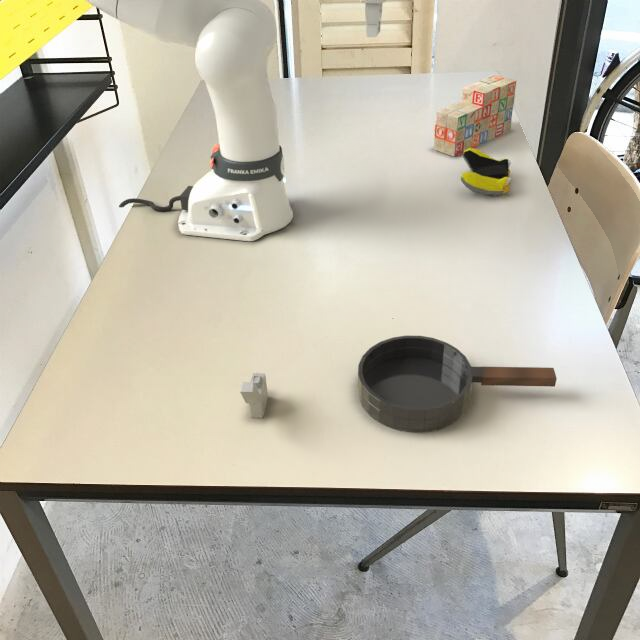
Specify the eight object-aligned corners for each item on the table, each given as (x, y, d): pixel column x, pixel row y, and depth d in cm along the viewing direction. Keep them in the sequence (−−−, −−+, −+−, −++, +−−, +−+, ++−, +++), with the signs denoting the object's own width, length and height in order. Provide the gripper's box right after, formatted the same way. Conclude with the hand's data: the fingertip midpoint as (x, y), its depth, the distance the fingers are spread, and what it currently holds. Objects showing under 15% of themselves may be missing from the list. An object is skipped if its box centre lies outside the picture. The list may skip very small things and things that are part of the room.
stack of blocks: (454, 157, 157) (458, 103, 150) (433, 150, 161) (436, 97, 154) (510, 130, 168) (517, 79, 161) (489, 124, 172) (494, 74, 165)
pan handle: (470, 385, 93) (471, 376, 92) (469, 374, 95) (470, 365, 94) (555, 386, 92) (557, 378, 91) (551, 375, 94) (553, 367, 93)
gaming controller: (458, 200, 141) (509, 203, 139) (460, 175, 137) (513, 177, 135) (461, 169, 152) (508, 171, 150) (463, 145, 149) (512, 147, 147)
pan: (356, 431, 90) (356, 408, 88) (359, 356, 103) (359, 334, 100) (475, 433, 89) (478, 411, 87) (464, 357, 101) (466, 336, 99)
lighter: (256, 396, 96) (250, 351, 92) (268, 396, 96) (263, 352, 91) (246, 433, 91) (239, 387, 86) (259, 434, 91) (253, 388, 86)
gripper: (359, -61, 113) (357, 31, 119) (350, -72, 94) (348, 38, 100) (398, -61, 112) (394, 32, 118) (397, -72, 94) (392, 39, 100)
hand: (373, 35), depth 109 cm, fingers open, 8 cm apart
